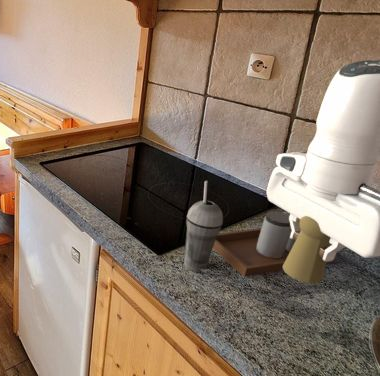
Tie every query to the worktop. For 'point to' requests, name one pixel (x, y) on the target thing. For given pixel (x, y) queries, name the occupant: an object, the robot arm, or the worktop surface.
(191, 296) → the worktop surface
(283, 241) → the cylinder
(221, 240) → the spice tray
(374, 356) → the worktop surface
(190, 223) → the beverage cup
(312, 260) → the cork
